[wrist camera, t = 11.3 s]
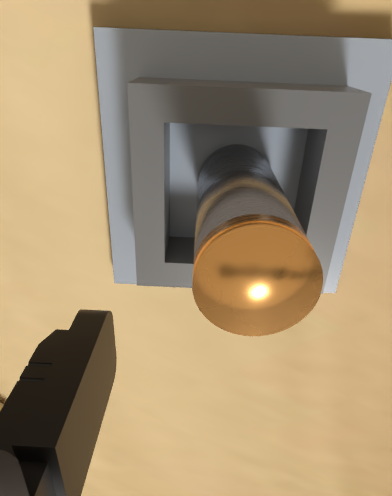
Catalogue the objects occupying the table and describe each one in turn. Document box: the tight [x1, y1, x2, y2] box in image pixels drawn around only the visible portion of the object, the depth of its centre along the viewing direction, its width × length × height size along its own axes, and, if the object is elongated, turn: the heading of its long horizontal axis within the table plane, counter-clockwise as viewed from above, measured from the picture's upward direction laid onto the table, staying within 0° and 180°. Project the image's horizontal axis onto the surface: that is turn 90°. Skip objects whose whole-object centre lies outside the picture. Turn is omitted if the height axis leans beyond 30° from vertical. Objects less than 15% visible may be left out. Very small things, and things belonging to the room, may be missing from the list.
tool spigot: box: [192, 144, 323, 336], centre depth 16 cm, size 4×4×10 cm
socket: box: [93, 27, 392, 294], centre depth 19 cm, size 14×14×4 cm
